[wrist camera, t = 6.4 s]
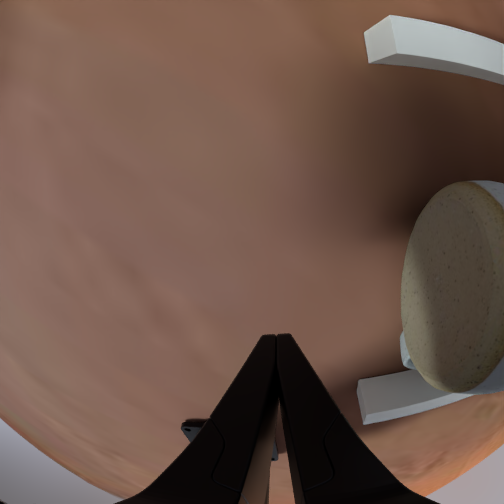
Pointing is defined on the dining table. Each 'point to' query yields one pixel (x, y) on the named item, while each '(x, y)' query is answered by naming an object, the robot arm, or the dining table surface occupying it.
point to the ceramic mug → (456, 290)
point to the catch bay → (443, 59)
